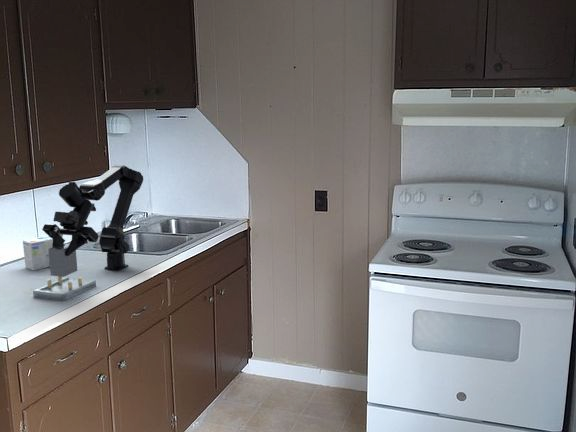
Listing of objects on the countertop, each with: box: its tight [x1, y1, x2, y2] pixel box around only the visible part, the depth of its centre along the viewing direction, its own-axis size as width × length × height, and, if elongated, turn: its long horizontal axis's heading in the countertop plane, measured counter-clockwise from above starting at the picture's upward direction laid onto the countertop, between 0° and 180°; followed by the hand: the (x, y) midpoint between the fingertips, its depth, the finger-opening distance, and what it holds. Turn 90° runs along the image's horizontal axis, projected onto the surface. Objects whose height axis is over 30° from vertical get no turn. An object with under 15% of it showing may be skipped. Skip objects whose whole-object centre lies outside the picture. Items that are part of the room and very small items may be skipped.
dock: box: [32, 276, 97, 302], centre depth 193 cm, size 16×12×4 cm
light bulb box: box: [22, 235, 53, 271], centre depth 221 cm, size 11×7×11 cm, turn 141°
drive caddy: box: [48, 243, 78, 278], centre depth 192 cm, size 7×5×9 cm
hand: (59, 254), depth 190 cm, fingers closed on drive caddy, 5 cm apart
